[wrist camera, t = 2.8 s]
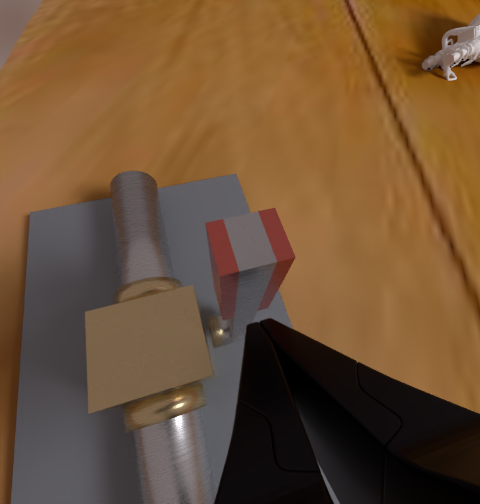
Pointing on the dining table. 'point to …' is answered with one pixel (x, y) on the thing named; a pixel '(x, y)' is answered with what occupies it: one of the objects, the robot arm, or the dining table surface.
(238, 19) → the dining table surface
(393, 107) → the dining table surface
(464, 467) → the robot arm
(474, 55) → the rocket engine
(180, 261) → the mounting board
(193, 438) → the valve
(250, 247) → the lever
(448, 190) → the dining table surface
